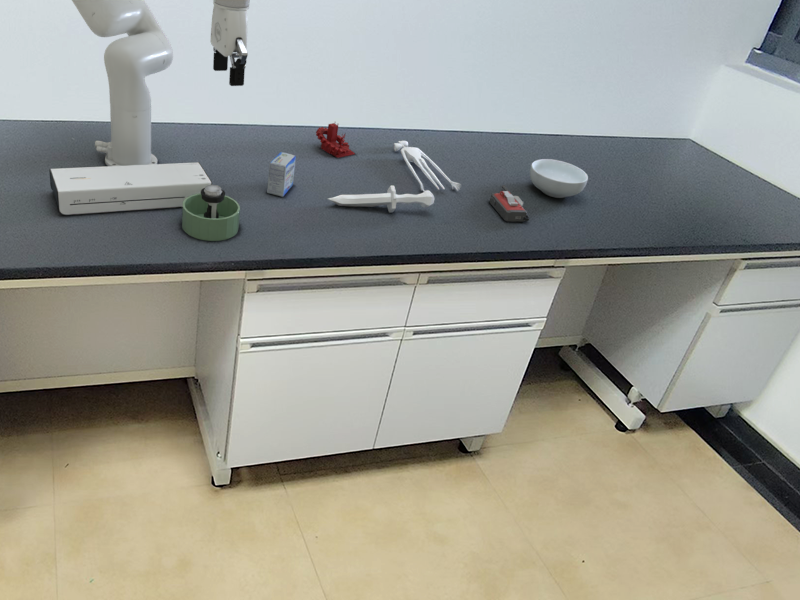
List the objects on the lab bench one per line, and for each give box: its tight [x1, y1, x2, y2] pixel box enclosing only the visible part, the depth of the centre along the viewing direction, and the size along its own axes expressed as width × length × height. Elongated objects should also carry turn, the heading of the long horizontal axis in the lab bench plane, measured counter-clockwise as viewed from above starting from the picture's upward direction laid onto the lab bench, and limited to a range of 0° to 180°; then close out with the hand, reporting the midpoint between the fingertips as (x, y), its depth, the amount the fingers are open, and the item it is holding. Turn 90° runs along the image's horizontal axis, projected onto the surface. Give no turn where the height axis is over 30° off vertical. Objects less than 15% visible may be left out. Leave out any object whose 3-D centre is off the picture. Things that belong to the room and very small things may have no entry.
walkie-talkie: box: [489, 184, 530, 223], centre depth 214 cm, size 9×4×20 cm
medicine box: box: [266, 151, 297, 198], centre depth 196 cm, size 8×4×9 cm, turn 168°
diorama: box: [315, 122, 356, 159], centre depth 223 cm, size 11×12×8 cm
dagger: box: [327, 185, 435, 213], centre depth 198 cm, size 8×6×28 cm
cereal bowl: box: [529, 158, 589, 199], centre depth 227 cm, size 17×17×7 cm
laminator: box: [48, 162, 213, 216], centre depth 180 cm, size 34×12×6 cm, turn 118°
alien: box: [393, 140, 462, 192], centre depth 224 cm, size 12×32×5 cm, turn 24°
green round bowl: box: [181, 193, 241, 242], centre depth 175 cm, size 13×13×6 cm
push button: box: [201, 184, 226, 218], centre depth 174 cm, size 7×5×10 cm
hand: (228, 77), depth 173 cm, fingers open, 9 cm apart
